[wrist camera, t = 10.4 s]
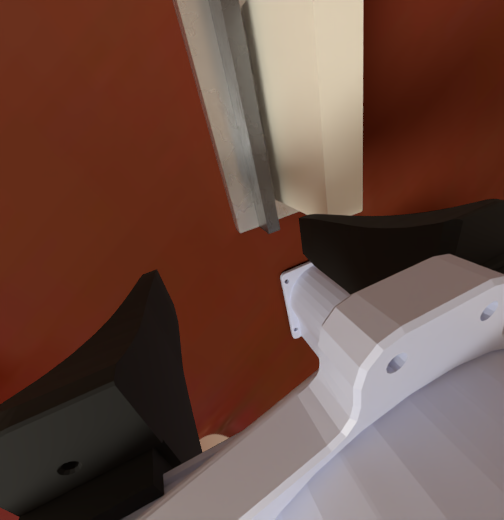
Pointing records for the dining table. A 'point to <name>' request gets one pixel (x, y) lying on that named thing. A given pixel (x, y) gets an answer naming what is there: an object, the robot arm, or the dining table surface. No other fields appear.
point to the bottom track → (231, 108)
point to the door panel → (311, 99)
